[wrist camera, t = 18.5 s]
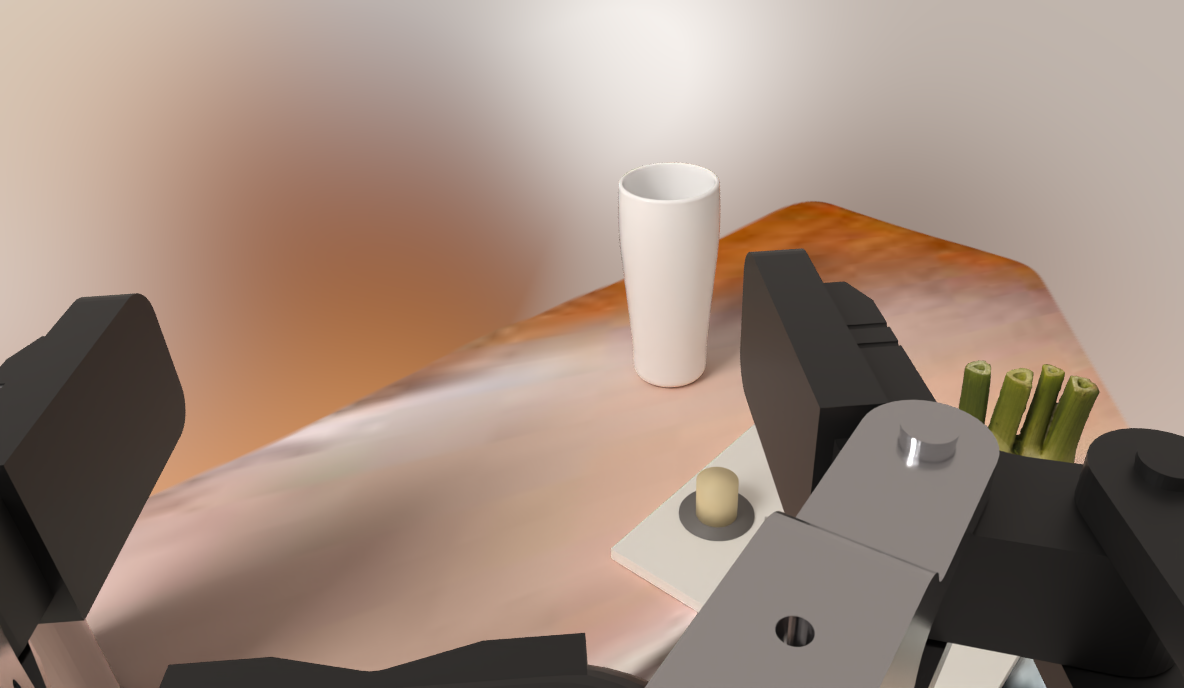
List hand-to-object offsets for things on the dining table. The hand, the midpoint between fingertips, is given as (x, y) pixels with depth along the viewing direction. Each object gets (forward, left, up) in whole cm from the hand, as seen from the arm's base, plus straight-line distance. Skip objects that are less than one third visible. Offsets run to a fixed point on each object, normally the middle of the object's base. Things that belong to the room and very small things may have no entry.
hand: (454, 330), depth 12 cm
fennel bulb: (0, +34, -31) cm, 46 cm away
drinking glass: (-26, +38, -32) cm, 56 cm away
